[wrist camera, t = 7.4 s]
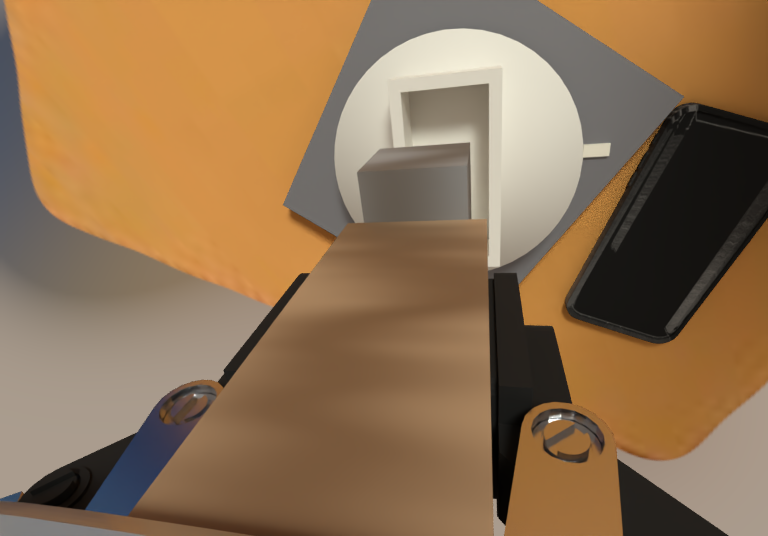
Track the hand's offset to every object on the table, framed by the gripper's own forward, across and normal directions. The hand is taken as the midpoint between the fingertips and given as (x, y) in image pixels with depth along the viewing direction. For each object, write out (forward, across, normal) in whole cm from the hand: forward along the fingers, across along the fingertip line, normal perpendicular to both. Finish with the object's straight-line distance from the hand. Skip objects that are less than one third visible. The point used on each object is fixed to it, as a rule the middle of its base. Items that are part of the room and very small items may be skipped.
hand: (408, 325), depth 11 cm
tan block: (+5, 0, 0) cm, 5 cm away
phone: (+20, -14, +6) cm, 25 cm away
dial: (+17, 0, 0) cm, 17 cm away
